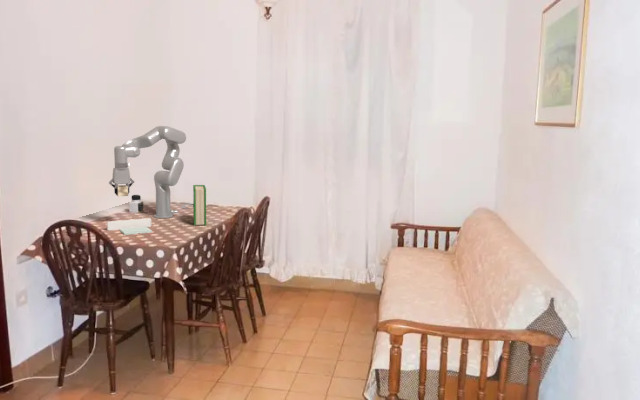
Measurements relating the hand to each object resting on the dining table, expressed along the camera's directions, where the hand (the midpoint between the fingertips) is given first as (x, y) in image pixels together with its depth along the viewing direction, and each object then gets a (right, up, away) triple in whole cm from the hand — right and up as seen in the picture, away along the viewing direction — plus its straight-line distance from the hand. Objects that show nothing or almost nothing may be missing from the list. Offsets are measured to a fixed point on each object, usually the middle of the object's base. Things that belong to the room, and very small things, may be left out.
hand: (122, 193), depth 341 cm
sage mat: (+14, -23, -16) cm, 32 cm away
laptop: (+27, -9, +71) cm, 77 cm away
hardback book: (+46, -19, +13) cm, 52 cm away
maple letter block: (0, -1, 0) cm, 1 cm away
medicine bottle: (-6, -12, +44) cm, 47 cm away
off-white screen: (+8, -21, -8) cm, 24 cm away
